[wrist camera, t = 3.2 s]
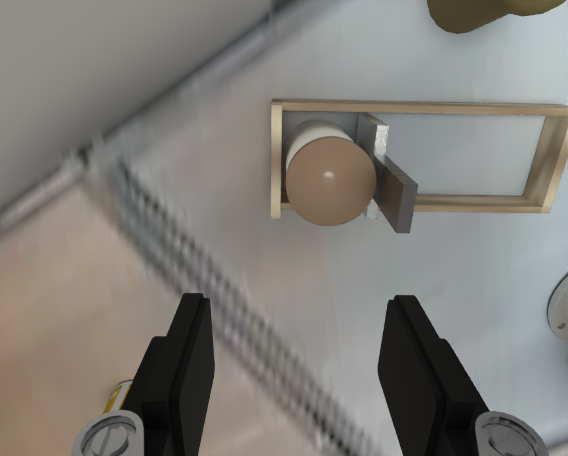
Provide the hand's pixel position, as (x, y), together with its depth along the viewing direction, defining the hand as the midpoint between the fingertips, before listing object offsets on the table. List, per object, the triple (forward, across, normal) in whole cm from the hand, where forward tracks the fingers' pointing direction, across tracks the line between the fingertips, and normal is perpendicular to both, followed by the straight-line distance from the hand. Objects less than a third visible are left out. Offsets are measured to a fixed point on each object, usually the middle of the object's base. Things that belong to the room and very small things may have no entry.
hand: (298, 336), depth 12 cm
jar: (+25, -3, 0) cm, 26 cm away
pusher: (+25, -7, 0) cm, 26 cm away
